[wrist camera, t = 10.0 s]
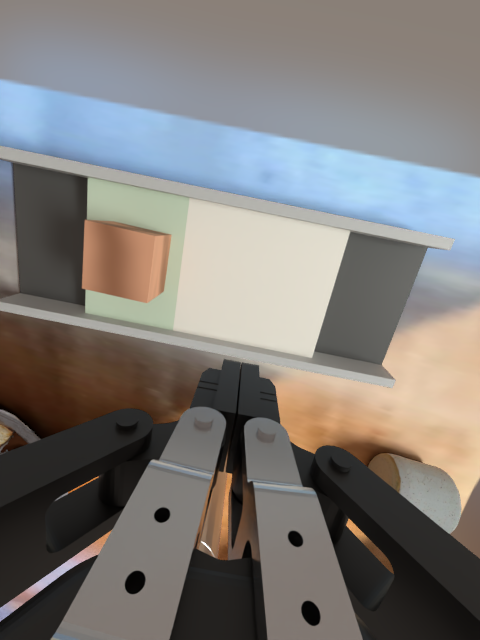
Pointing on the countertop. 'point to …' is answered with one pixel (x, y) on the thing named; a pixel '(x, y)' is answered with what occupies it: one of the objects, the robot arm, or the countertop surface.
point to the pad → (150, 214)
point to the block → (124, 260)
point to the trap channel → (229, 272)
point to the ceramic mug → (421, 487)
